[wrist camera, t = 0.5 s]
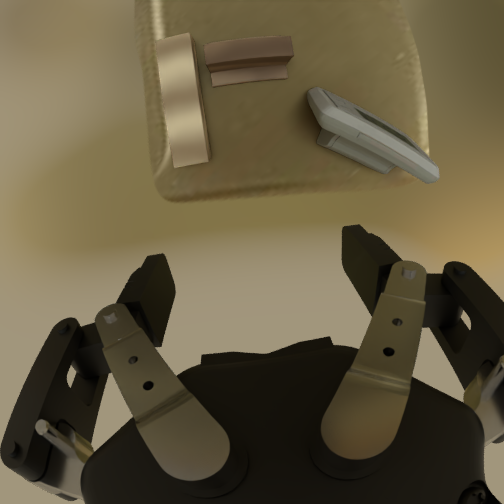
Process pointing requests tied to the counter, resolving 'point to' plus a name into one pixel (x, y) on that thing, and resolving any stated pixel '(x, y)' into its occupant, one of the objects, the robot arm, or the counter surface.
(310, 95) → the digital clock
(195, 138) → the beige long bar
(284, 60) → the walnut ridge
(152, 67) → the counter surface
